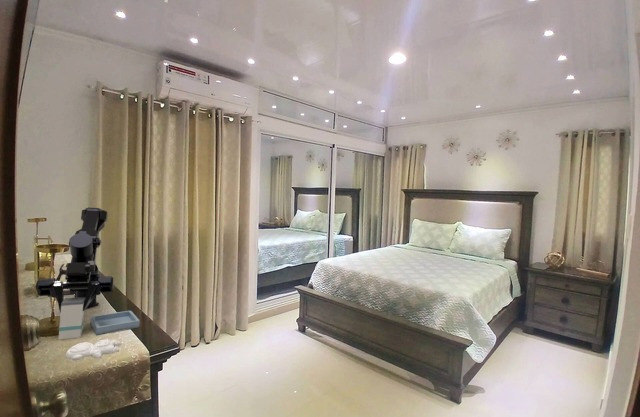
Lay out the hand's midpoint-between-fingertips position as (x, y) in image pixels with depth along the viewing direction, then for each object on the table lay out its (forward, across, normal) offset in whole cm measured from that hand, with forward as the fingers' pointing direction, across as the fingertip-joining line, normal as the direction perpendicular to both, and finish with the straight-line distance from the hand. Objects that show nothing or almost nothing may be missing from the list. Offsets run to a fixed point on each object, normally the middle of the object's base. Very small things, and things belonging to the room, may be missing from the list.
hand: (72, 311), depth 92 cm
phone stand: (-29, -10, +40) cm, 51 cm away
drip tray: (+1, +11, +10) cm, 14 cm away
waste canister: (+4, 0, +6) cm, 8 cm away
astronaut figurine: (+15, +7, -3) cm, 16 cm away
